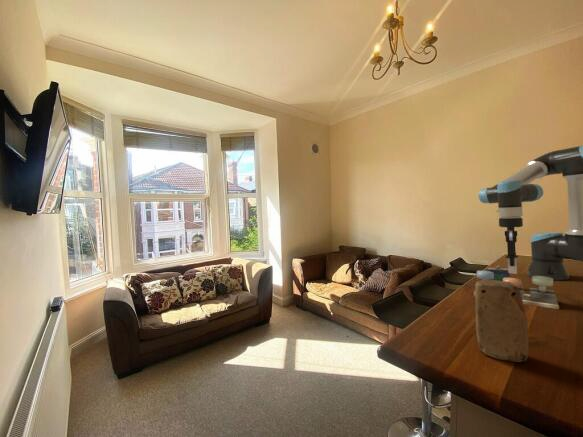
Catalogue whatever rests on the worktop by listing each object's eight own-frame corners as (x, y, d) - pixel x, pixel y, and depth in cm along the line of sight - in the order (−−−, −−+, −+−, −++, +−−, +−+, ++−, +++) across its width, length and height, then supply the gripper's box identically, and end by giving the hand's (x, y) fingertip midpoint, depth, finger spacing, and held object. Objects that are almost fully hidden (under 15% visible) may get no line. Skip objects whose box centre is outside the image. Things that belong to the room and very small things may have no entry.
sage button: (539, 289, 103) (539, 275, 103) (557, 294, 97) (557, 278, 97) (528, 291, 102) (527, 276, 102) (545, 296, 96) (545, 280, 96)
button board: (473, 296, 111) (473, 286, 111) (476, 290, 118) (475, 280, 118) (559, 309, 93) (558, 297, 93) (555, 301, 101) (555, 289, 101)
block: (475, 353, 69) (472, 282, 69) (478, 342, 75) (476, 276, 74) (529, 368, 62) (527, 289, 62) (528, 354, 68) (526, 281, 67)
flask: (509, 286, 120) (508, 264, 120) (512, 288, 117) (511, 266, 117) (486, 285, 123) (485, 264, 123) (488, 287, 121) (487, 265, 120)
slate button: (484, 282, 115) (484, 270, 115) (497, 286, 109) (497, 273, 109) (473, 284, 114) (473, 271, 114) (486, 288, 108) (486, 274, 108)
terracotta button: (510, 290, 109) (510, 276, 109) (526, 294, 103) (525, 280, 103) (499, 292, 108) (499, 278, 108) (514, 296, 102) (514, 282, 102)
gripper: (499, 216, 112) (501, 268, 113) (497, 218, 102) (500, 275, 103) (522, 216, 107) (524, 270, 108) (522, 218, 97) (525, 278, 98)
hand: (512, 272), depth 105 cm, fingers closed
